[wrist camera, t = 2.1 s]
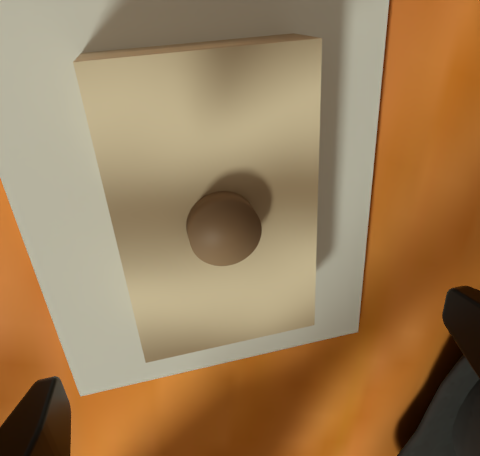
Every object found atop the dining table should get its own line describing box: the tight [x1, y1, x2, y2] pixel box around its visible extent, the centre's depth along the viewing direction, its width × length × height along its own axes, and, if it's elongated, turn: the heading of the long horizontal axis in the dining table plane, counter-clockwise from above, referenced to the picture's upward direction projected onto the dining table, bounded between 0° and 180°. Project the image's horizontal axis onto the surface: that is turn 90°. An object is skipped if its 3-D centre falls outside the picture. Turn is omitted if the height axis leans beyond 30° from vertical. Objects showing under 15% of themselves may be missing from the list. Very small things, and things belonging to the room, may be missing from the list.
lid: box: [73, 33, 322, 363], centre depth 15 cm, size 11×7×3 cm, turn 4°
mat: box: [0, 0, 389, 396], centre depth 17 cm, size 18×14×1 cm
